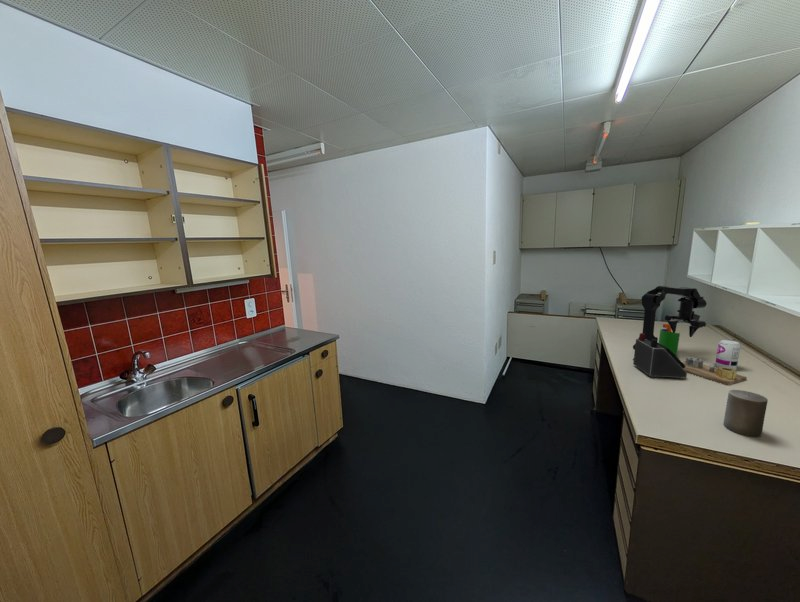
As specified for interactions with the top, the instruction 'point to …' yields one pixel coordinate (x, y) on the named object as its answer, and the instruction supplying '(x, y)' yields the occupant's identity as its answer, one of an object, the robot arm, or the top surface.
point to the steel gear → (694, 363)
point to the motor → (669, 338)
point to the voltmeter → (657, 359)
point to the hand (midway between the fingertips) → (682, 334)
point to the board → (712, 374)
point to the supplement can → (727, 354)
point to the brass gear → (726, 373)
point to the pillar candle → (745, 413)
